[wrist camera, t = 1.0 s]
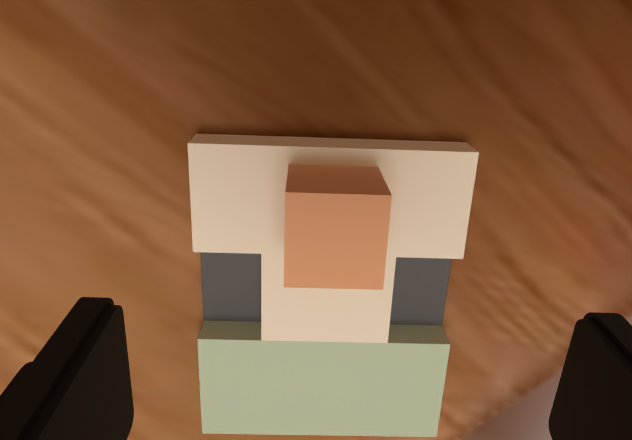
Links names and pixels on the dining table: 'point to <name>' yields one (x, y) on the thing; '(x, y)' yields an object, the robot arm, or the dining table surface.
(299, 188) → the block
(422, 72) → the dining table surface
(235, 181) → the deck
